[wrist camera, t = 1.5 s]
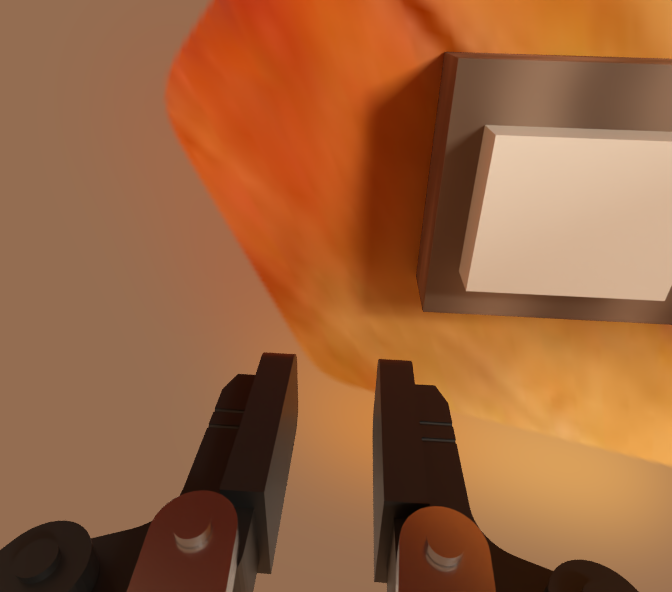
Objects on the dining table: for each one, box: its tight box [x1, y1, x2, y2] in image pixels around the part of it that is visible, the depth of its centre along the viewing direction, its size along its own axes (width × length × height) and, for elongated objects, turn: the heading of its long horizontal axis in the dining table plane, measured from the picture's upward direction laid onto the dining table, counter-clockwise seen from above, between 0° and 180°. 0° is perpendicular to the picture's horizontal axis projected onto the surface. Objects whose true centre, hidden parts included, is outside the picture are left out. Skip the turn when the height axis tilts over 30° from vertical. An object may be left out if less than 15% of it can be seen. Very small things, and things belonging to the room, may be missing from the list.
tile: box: [459, 125, 672, 301], centre depth 21 cm, size 9×7×2 cm
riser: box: [416, 52, 672, 325], centre depth 23 cm, size 14×12×4 cm
